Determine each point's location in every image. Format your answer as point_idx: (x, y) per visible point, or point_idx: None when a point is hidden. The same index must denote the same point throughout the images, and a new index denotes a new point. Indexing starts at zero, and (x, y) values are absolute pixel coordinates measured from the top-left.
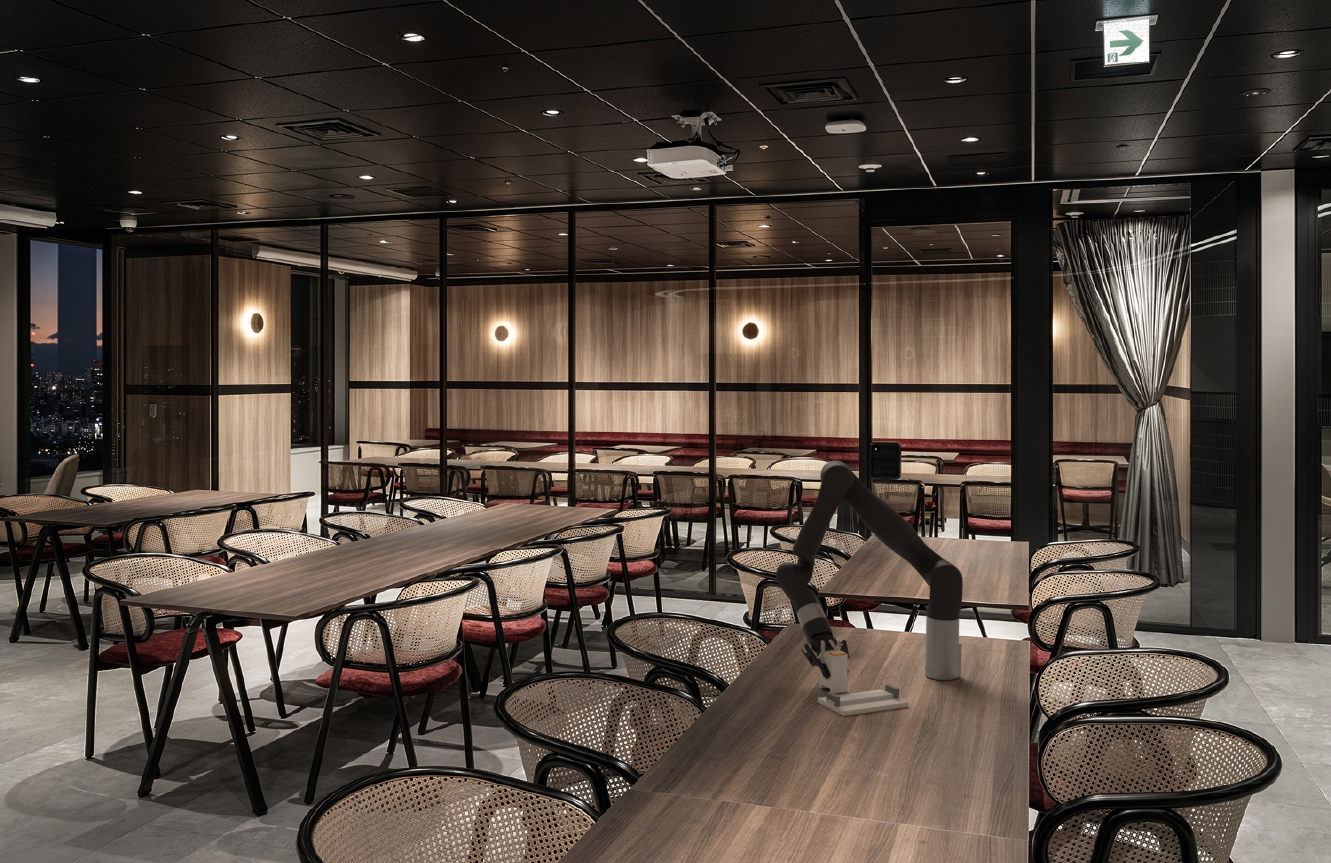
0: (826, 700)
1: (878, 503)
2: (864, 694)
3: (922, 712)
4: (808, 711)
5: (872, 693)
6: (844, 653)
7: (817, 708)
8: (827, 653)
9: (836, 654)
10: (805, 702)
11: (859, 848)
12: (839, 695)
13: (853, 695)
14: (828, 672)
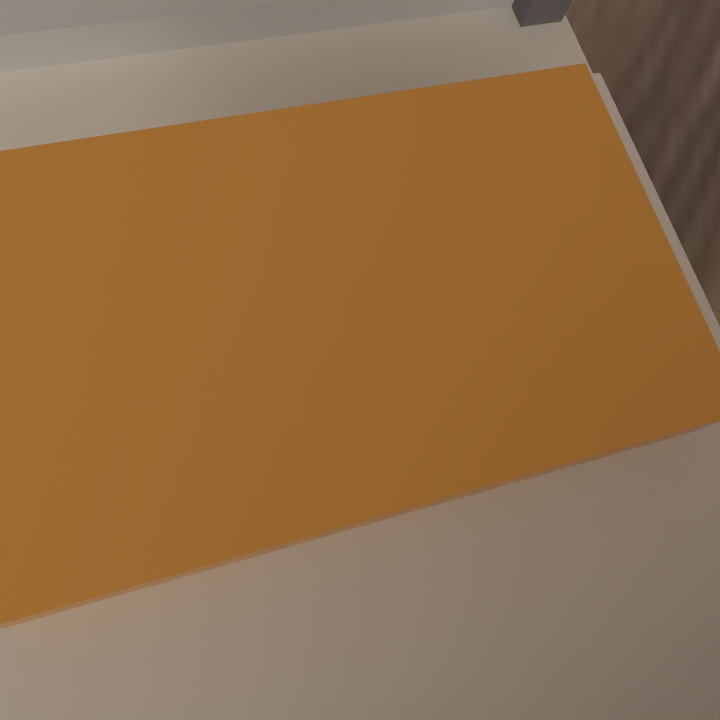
0: (553, 54)
1: None
2: (120, 9)
3: None
4: (707, 4)
5: (2, 18)
6: (1, 174)
7: (624, 50)
8: (716, 497)
9: (428, 101)
10: (709, 207)
11: None
12: None
13: (265, 4)
14: None
